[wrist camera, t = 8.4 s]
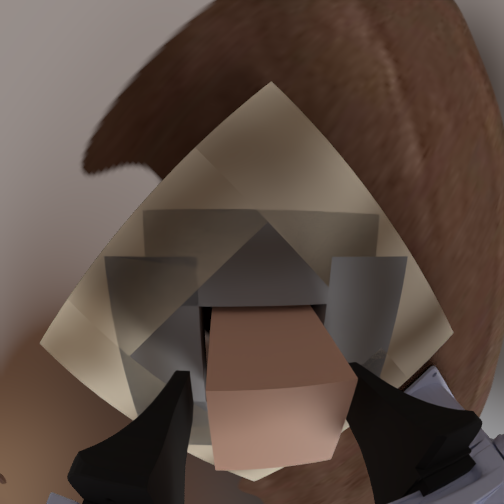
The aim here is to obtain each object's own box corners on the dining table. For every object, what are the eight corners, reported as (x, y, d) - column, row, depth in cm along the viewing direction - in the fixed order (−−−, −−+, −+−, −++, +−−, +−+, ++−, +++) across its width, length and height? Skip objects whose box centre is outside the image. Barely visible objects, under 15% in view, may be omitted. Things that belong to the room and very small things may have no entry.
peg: (301, 292, 16) (358, 378, 8) (294, 362, 17) (330, 459, 10) (213, 294, 16) (205, 390, 8) (216, 366, 17) (215, 470, 9)
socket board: (433, 318, 18) (453, 332, 15) (251, 459, 20) (254, 481, 17) (264, 96, 13) (271, 81, 11) (57, 325, 15) (39, 343, 13)
